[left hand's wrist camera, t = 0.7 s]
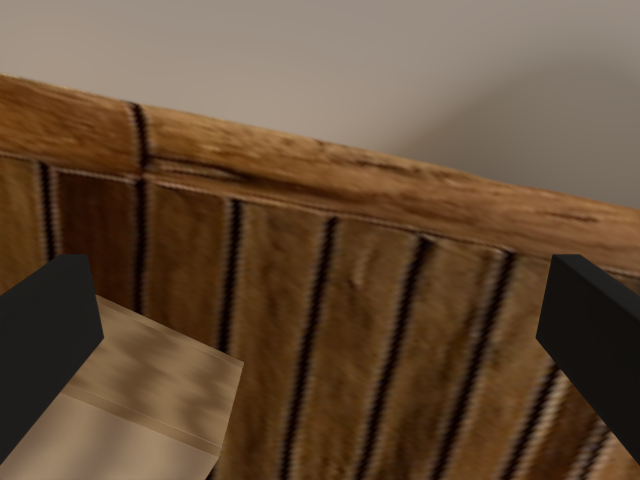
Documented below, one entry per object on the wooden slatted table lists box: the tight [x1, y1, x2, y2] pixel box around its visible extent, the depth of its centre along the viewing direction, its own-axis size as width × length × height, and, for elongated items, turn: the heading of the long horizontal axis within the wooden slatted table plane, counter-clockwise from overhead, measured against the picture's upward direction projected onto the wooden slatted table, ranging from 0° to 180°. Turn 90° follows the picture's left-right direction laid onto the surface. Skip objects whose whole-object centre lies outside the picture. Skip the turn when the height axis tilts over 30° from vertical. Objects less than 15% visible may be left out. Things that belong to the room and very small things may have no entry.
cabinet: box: [0, 295, 244, 480], centre depth 40 cm, size 17×12×12 cm
